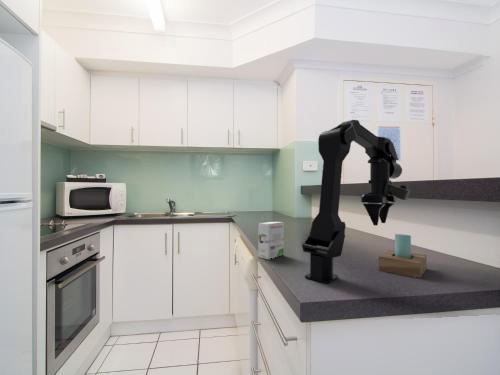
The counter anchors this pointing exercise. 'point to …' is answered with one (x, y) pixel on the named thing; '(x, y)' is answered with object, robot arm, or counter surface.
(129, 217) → the counter surface
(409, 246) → the peg
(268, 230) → the ink box
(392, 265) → the socket block
